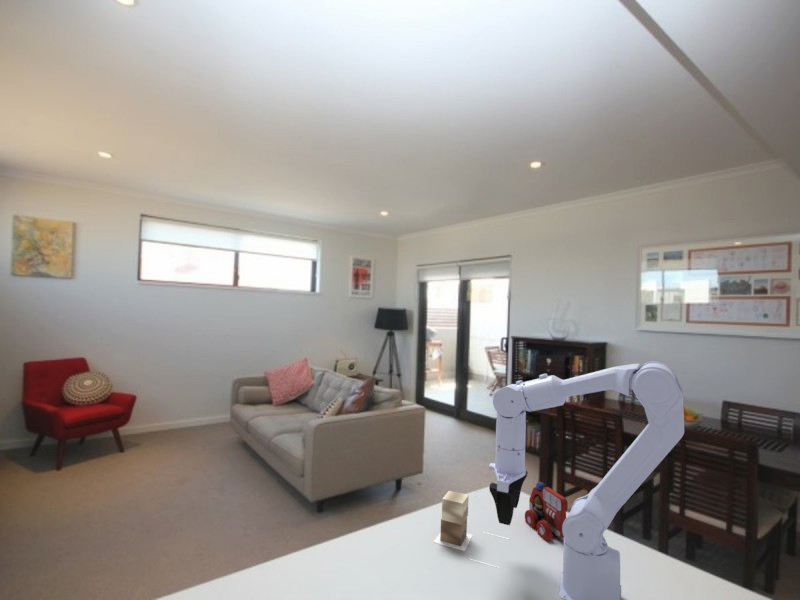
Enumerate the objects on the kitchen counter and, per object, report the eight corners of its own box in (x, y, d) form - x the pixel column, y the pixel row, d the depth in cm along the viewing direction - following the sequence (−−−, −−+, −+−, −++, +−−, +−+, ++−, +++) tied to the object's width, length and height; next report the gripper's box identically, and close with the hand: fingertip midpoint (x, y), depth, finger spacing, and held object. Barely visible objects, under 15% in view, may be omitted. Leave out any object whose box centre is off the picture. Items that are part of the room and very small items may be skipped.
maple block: (467, 515, 91) (468, 494, 91) (462, 525, 87) (462, 503, 87) (448, 510, 93) (448, 490, 93) (441, 519, 89) (442, 498, 89)
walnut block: (466, 535, 91) (467, 515, 91) (460, 546, 87) (461, 524, 87) (446, 530, 93) (447, 510, 93) (440, 540, 89) (440, 519, 89)
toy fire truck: (544, 517, 102) (545, 474, 102) (578, 545, 90) (579, 497, 90) (519, 519, 100) (520, 476, 101) (550, 549, 88) (551, 500, 89)
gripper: (497, 433, 91) (495, 495, 91) (481, 453, 78) (479, 526, 78) (531, 438, 88) (529, 502, 88) (520, 460, 75) (518, 536, 75)
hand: (508, 514), depth 83 cm, fingers open, 7 cm apart
